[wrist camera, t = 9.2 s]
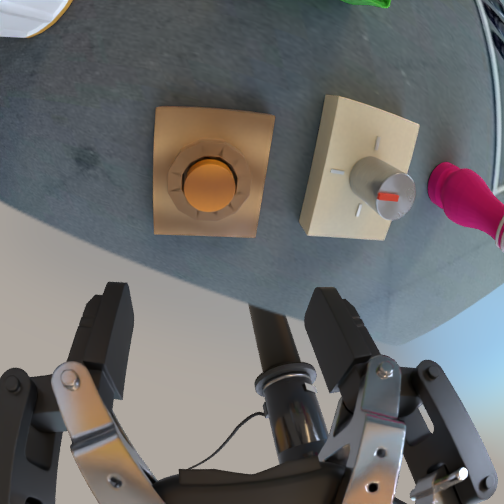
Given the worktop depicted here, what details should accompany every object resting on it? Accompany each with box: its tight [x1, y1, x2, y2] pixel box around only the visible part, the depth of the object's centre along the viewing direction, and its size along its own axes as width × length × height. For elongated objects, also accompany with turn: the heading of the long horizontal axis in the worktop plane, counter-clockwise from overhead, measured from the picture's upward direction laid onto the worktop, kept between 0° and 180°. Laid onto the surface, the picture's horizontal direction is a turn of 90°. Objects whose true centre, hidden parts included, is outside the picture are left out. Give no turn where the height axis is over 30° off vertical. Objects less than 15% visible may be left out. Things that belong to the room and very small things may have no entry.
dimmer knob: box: [349, 156, 416, 220], centre depth 22 cm, size 4×4×5 cm
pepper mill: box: [428, 162, 504, 252], centre depth 21 cm, size 7×7×20 cm
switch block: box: [153, 106, 275, 238], centre depth 23 cm, size 12×10×4 cm
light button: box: [184, 159, 235, 212], centre depth 21 cm, size 4×4×2 cm
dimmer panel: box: [299, 95, 420, 241], centre depth 26 cm, size 14×10×3 cm
